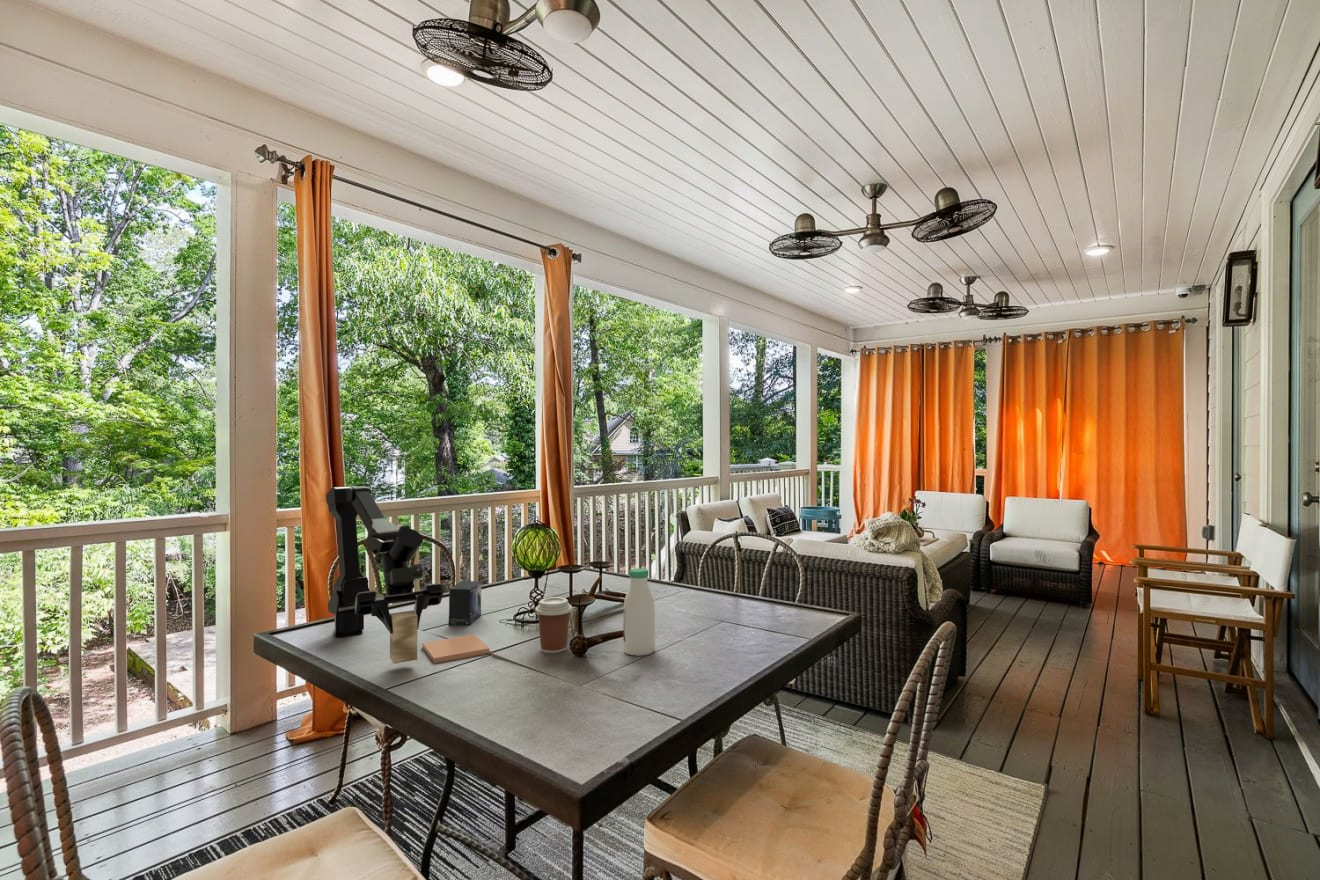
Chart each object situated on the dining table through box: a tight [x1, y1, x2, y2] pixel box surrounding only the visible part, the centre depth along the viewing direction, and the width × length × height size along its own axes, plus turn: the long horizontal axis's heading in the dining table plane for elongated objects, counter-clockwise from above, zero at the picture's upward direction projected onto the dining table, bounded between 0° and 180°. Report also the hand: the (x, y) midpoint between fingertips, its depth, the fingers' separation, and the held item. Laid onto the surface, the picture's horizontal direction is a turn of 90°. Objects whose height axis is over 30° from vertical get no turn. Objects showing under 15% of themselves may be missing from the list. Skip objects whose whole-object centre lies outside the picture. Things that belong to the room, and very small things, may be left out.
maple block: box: [389, 609, 418, 665], centre depth 140 cm, size 5×5×10 cm
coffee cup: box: [534, 596, 573, 654], centre depth 153 cm, size 9×9×12 cm
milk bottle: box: [622, 567, 656, 657], centre depth 151 cm, size 8×8×20 cm
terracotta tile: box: [421, 634, 490, 664], centre depth 152 cm, size 13×13×1 cm
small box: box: [448, 580, 482, 626], centre depth 178 cm, size 11×6×10 cm, turn 179°
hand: (404, 630), depth 139 cm, fingers closed on maple block, 5 cm apart
